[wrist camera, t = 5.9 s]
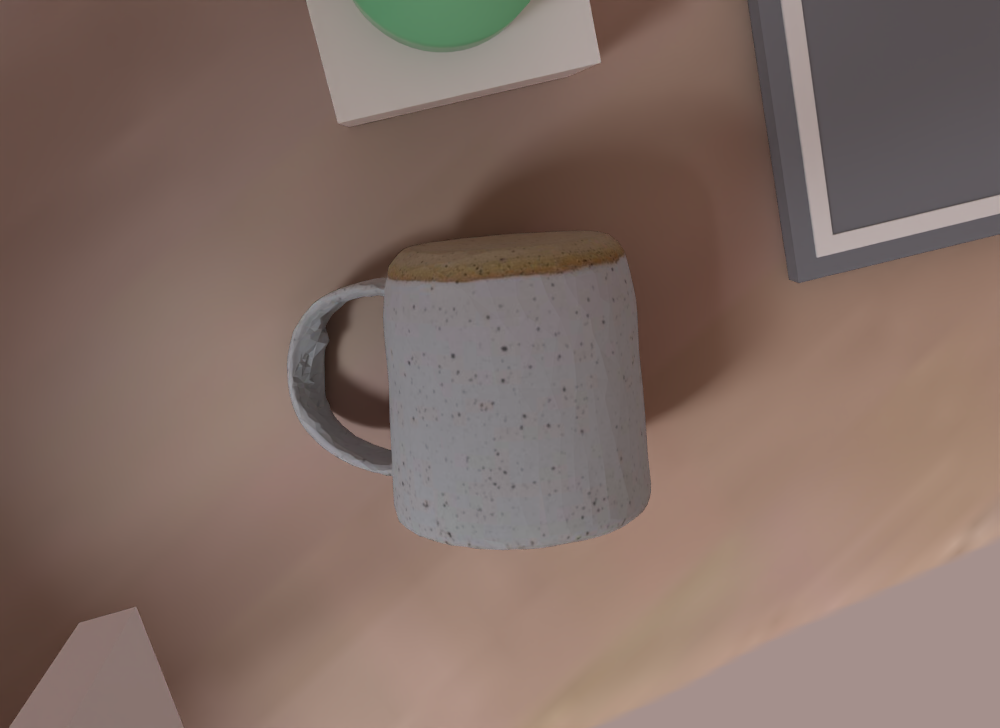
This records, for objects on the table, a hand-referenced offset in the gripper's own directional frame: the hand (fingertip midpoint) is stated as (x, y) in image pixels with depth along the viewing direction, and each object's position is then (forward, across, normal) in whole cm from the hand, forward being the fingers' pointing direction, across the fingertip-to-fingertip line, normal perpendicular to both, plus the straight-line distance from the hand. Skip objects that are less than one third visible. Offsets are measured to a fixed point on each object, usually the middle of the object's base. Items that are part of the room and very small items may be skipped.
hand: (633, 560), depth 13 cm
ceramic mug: (+19, -1, -1) cm, 19 cm away
